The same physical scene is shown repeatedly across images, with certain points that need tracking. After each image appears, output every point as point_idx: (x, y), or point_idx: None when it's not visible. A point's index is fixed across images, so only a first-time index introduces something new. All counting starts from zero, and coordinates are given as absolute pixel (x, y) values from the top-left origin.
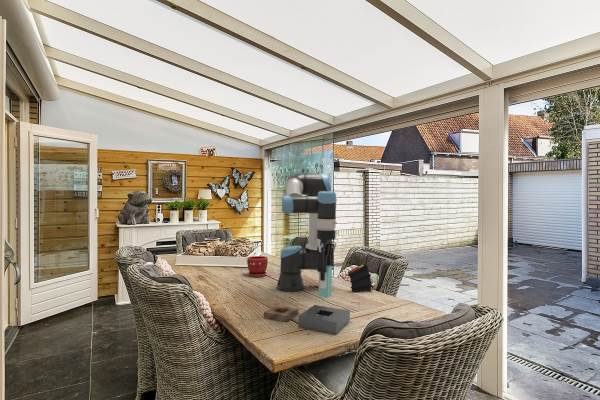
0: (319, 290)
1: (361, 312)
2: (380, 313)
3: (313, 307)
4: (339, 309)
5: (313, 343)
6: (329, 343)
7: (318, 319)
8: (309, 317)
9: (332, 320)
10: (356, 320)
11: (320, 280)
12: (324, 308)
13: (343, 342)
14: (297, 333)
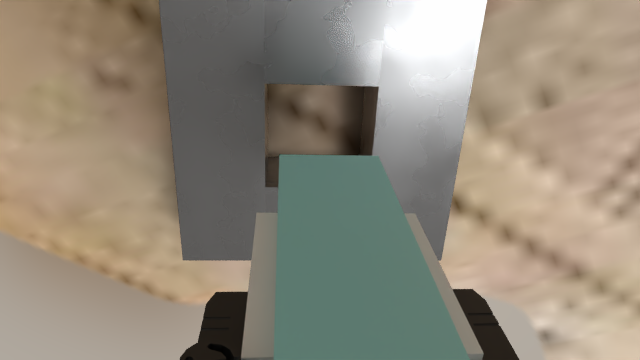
0: (279, 187)
1: (600, 237)
2: (605, 320)
3: (414, 7)
4: (439, 199)
5: (7, 162)
6: (64, 229)
7: (172, 146)
8: (169, 74)
9: (204, 229)
10: (452, 249)
11: (251, 274)
12: (422, 99)
13: (120, 278)
14: (71, 16)
